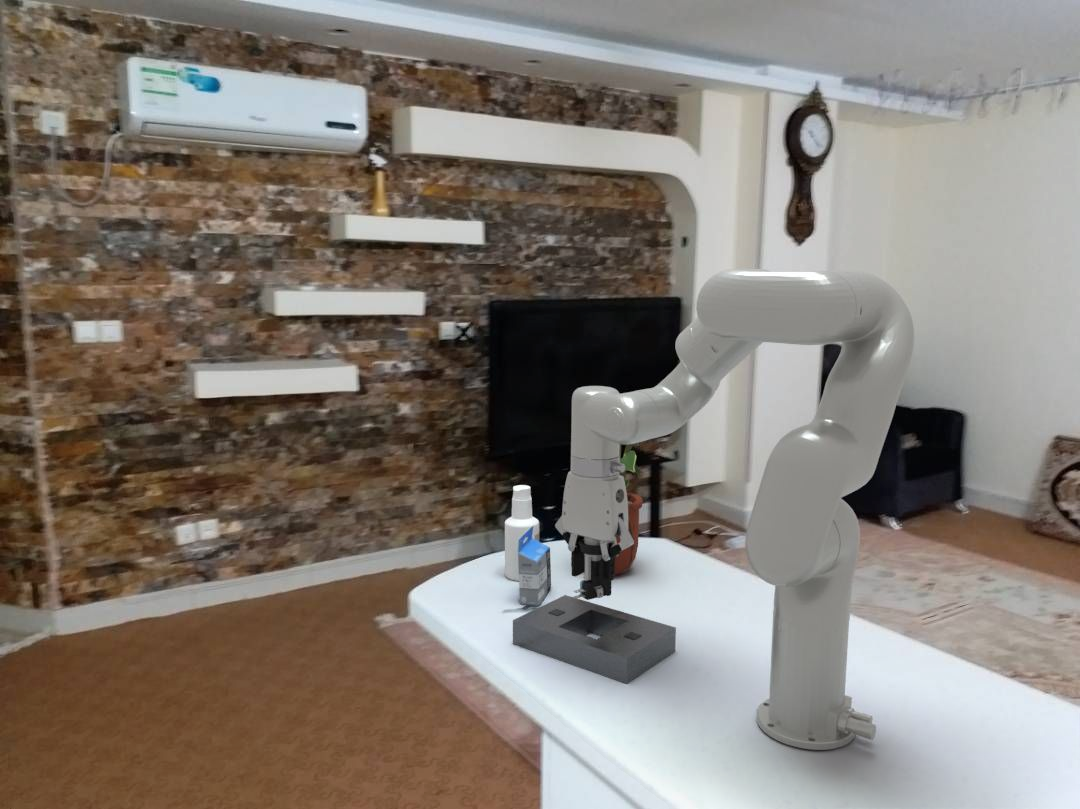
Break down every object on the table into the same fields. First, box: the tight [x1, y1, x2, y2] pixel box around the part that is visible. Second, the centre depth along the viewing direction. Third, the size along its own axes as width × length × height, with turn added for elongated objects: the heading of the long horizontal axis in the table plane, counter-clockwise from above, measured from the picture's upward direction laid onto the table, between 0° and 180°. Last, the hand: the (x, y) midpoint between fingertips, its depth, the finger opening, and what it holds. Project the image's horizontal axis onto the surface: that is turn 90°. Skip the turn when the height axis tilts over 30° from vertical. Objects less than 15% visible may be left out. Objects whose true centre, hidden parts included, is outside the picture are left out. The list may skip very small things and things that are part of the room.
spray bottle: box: [504, 484, 540, 582], centre depth 171 cm, size 7×7×18 cm
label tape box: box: [518, 526, 552, 607], centre depth 161 cm, size 9×4×12 cm, turn 164°
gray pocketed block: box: [512, 594, 677, 685], centre depth 140 cm, size 22×14×4 cm, turn 51°
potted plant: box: [614, 443, 643, 576], centre depth 172 cm, size 17×16×35 cm
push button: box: [573, 537, 612, 601], centre depth 138 cm, size 7×5×10 cm
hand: (592, 576), depth 138 cm, fingers closed on push button, 4 cm apart
